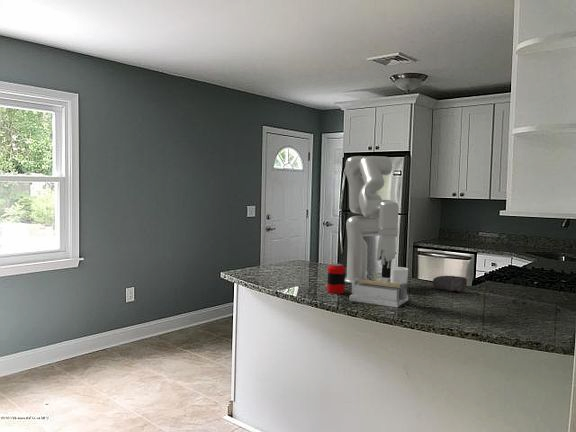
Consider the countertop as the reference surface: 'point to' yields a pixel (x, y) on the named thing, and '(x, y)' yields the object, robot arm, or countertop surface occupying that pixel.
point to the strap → (378, 283)
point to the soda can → (336, 279)
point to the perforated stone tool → (450, 283)
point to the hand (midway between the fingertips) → (386, 277)
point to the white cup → (399, 275)
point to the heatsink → (379, 294)
